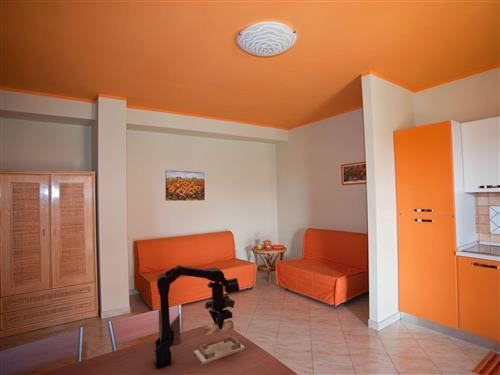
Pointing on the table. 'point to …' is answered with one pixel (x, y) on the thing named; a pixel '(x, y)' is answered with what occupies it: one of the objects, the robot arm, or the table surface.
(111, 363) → the table surface
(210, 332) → the slat
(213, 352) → the slat board
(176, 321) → the wooden block
